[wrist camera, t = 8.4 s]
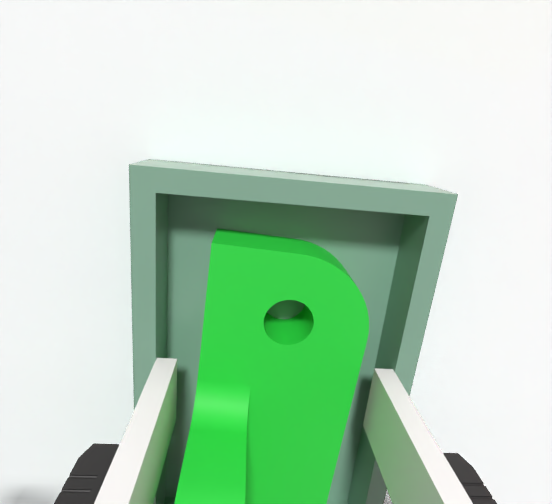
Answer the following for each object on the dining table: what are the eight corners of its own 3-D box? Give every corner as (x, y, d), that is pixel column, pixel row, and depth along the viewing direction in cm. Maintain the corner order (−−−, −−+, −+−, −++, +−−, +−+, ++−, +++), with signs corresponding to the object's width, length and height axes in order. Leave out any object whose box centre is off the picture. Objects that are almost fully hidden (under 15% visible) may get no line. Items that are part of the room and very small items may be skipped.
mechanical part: (314, 480, 18) (359, 727, 11) (190, 472, 18) (144, 728, 10) (368, 247, 15) (491, 369, 7) (217, 228, 14) (175, 338, 7)
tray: (151, 499, 19) (136, 550, 16) (149, 159, 14) (129, 164, 11) (358, 502, 20) (371, 551, 17) (426, 184, 15) (457, 194, 12)
